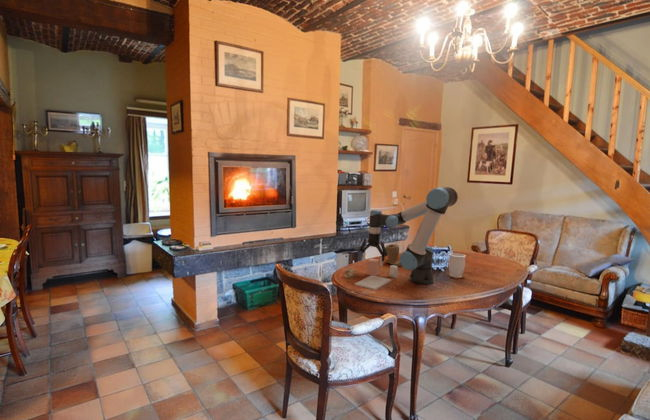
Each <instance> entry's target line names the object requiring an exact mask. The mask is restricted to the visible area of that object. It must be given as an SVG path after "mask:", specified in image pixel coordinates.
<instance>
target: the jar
mask: <svg viewBox="0 0 650 420" xmlns="http://www.w3.org/2000/svg"><path fill="white" fill-rule="evenodd" d="M466 256H467V255H466V254H463V253H458V252H457V253H456V252H452V253H451V252H450V253H449V258H448V271H449V275H448V276H450V277H452V278H456V279H457V278H458V279H460V278H463V277H464V276H463V274H464V271H465V267H466Z"/></svg>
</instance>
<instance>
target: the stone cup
mask: <svg viewBox="0 0 650 420" xmlns="http://www.w3.org/2000/svg"><path fill="white" fill-rule="evenodd" d="M385 249H386V251H387V254H388V255H387V256H386V257H387V259H386V260H384V262H386V263H387V264H390V265H395V266H398V267H403V266H402V265H401V262H400V258H399V257H400V246H399V245H398V244H387V245H385Z"/></svg>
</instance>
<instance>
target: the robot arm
mask: <svg viewBox="0 0 650 420" xmlns="http://www.w3.org/2000/svg"><path fill="white" fill-rule="evenodd" d="M458 195H459V194H458V192H457V191H456V190H455V189H454V188H452V187H449V186H447V187H446V186H445V187H441V186H440V187H435V188H432V189H431V190H430V191H429V192H428V193H427V195H426V198H425V199H426V200H425V201H422V202H420V203H418V204H416V205H413V206H411V207H408V208H406V209H405V210H402V211H400V212H397V213H393V214H386V213H385V214H384V213H382V210H381V209H371V210H370V211H369V212H370V213H369V224H368V237H367V238H363V242H362V244H361V245H360V247H359V249H358V251H359V252H361V259H362V260H361V262H362V263H364V262H366V254H367V253H366V251H367V249H369V248H370V247H373V248H376V249H377V250H378V252H379V254H380V255H381V256H380V259H379V266H380V267H382V266H384V262H385V261H386V260H385V258H386V257H388V256H387V255H388V254H387V251H386V249H385V247H386V245H385V241H384V240H383V241H381V240H380V239H381V227H382V226H383V227H387V228H393V229H394V228H396V227H397V226H399V225H401V226H402V225H404V224H406V223H407V222H410V221H411V220H414V219H417V218H419V217H421V216H423V218H422V219H421V222H420V225H419V226H418V228H417V231H416V233H415V235H414V238H413V240H412V242H411V243H409V244H408V245H407V247H406V249H405V251H402V252H401V254H399V260H400V262H401V265H402V266H401V267H402V268H403V269H405V270H408V271H411V272H410V275H409V281H410V282H412V283H416V284H419V285H430V284H433V283H434V280H435V278H434V273H433V270H432V269H433V268H432V267H433V257H434V256H433V255H434V249H433V247H432V246H428V244H429V242H430V240H431V238H432V235H433V234H434V232H435V229H436V226H437V225H438V223H439V220H440V219H441V216H442V215H443V216H444V215H445V214H446V212H447V210H448V208H449V207H452V206H454V205H455V204H456V203H457V202H458V198H459V196H458Z"/></svg>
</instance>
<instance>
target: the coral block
mask: <svg viewBox="0 0 650 420" xmlns="http://www.w3.org/2000/svg"><path fill="white" fill-rule="evenodd" d="M379 266H380V259H376V258H372V257H371V258H369V259H367V260H366V275H367V276H371V275H373V276H378V275H379V271H380V270H379V269H380V268H379Z"/></svg>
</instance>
